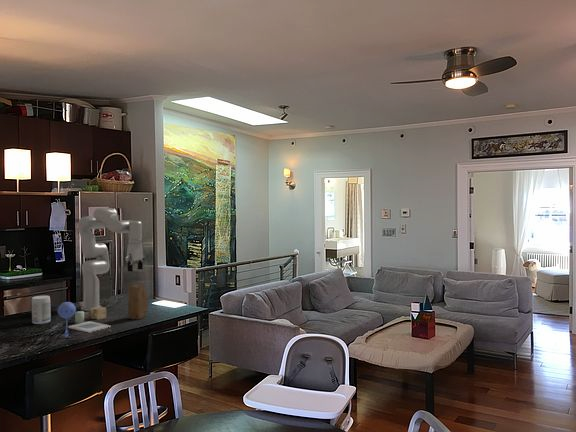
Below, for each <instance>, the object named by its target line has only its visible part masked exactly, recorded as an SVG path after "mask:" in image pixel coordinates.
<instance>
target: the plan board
mask: <svg viewBox="0 0 576 432" xmlns="http://www.w3.org/2000/svg"><path fill="white" fill-rule="evenodd" d="M111 326H112V325H109V324H105V323H99V322H95V321H84V323H80V324H77V323H75V324H72V325H69V326H68V325H67V329H71V330H76V331H80V332H84V333H85V332H86V333H89V334H90V333H93V331H94V332H97V330H98V331H101V329H102V330H105V329H108V327H109V328H111Z"/></svg>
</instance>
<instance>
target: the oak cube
mask: <svg viewBox="0 0 576 432" xmlns="http://www.w3.org/2000/svg"><path fill="white" fill-rule="evenodd" d="M90 312H91V313H90V315H91V316H90V318H91V319H94V320H103V319H107V307H103V306H102V307H96V308H91V311H90Z"/></svg>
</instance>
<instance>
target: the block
mask: <svg viewBox="0 0 576 432" xmlns="http://www.w3.org/2000/svg"><path fill="white" fill-rule="evenodd" d="M145 287H146V286H145V285H144V284H141V283H140V284H138V283H137V284H133V285H131V286H129V288H128V291H129V292H128V298H127V299H128V300H127V303H128V306H127V307H128V308H127V313H128V318H129V319H130V320H135V319H136V320H141V319H143V318H145V317H146V315H147V310H148V309H147V308H148V296H147V292H146V288H145Z"/></svg>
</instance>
